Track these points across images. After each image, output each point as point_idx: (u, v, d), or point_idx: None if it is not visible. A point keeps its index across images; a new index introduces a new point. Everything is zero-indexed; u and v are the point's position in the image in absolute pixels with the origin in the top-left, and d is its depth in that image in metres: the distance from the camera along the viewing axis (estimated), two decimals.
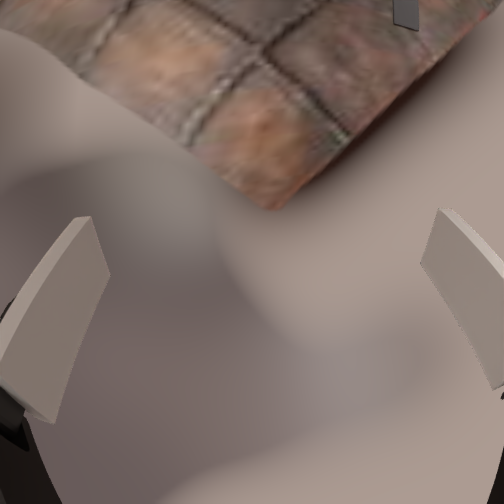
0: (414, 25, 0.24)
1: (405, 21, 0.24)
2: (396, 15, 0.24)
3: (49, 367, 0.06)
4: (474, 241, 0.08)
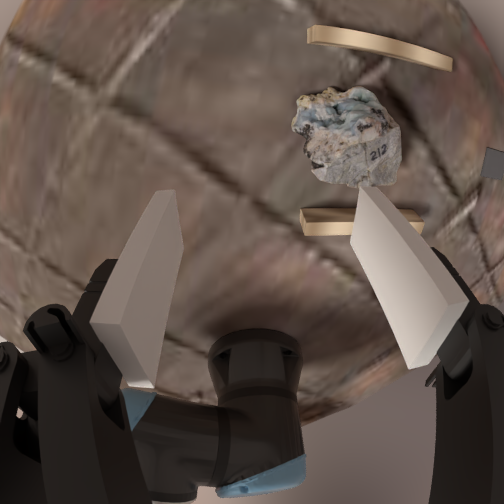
0: (503, 157, 0.26)
1: (501, 167, 0.27)
2: (496, 175, 0.28)
3: (152, 327, 0.07)
4: (387, 214, 0.09)
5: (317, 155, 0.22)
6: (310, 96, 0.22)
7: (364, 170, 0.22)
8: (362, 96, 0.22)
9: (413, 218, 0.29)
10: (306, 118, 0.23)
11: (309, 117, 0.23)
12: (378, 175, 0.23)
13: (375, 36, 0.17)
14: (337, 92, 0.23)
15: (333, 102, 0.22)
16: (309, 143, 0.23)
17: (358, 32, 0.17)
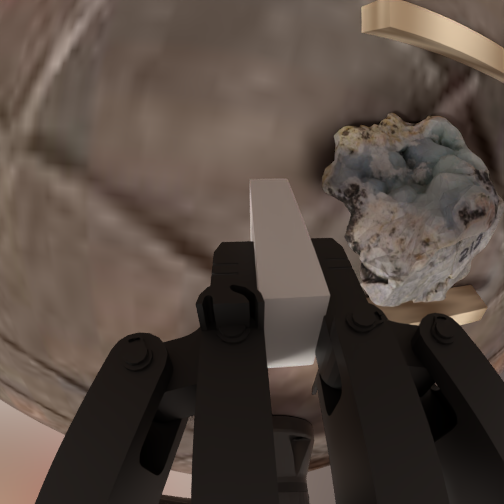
0: None
1: None
2: None
3: None
4: (279, 204, 0.09)
5: (374, 254, 0.12)
6: (362, 129, 0.12)
7: (443, 277, 0.12)
8: (443, 135, 0.12)
9: (475, 303, 0.18)
10: (353, 172, 0.13)
11: (358, 170, 0.12)
12: (457, 277, 0.12)
13: (479, 36, 0.07)
14: (404, 124, 0.12)
15: (400, 143, 0.12)
16: (358, 225, 0.12)
17: (456, 24, 0.07)
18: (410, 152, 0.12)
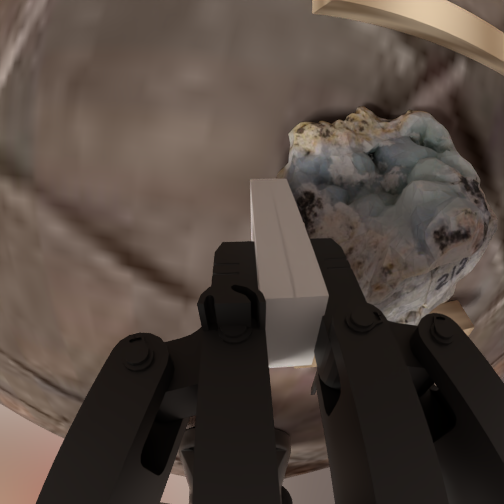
0: None
1: None
2: None
3: None
4: (278, 204, 0.09)
5: None
6: (320, 126, 0.10)
7: (415, 307, 0.10)
8: (426, 134, 0.10)
9: (460, 322, 0.17)
10: (307, 177, 0.11)
11: (314, 175, 0.11)
12: (435, 304, 0.11)
13: (459, 10, 0.05)
14: (377, 119, 0.10)
15: (369, 143, 0.10)
16: None
17: None
18: (382, 153, 0.10)
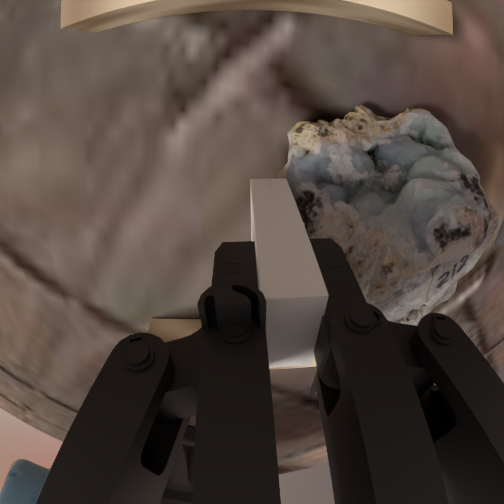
0: None
1: None
2: None
3: None
4: (278, 204, 0.09)
5: None
6: (319, 125, 0.10)
7: (417, 305, 0.10)
8: (425, 132, 0.10)
9: None
10: (307, 177, 0.11)
11: (314, 175, 0.11)
12: (436, 302, 0.11)
13: None
14: (376, 118, 0.10)
15: (368, 141, 0.10)
16: None
17: None
18: (381, 152, 0.10)
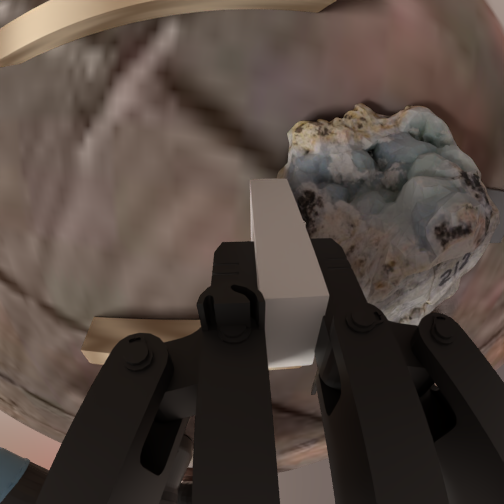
0: None
1: (503, 221, 0.14)
2: None
3: None
4: (279, 204, 0.09)
5: None
6: (318, 124, 0.10)
7: (419, 303, 0.10)
8: (425, 129, 0.10)
9: None
10: (307, 176, 0.11)
11: (314, 174, 0.11)
12: (439, 300, 0.11)
13: None
14: (376, 116, 0.10)
15: (368, 139, 0.10)
16: None
17: (40, 8, 0.05)
18: (381, 150, 0.10)
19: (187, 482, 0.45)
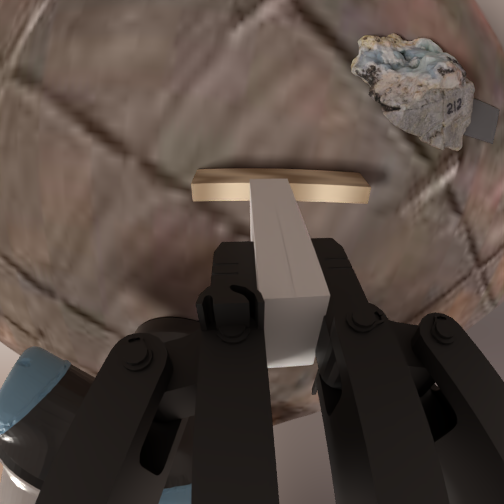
0: (493, 113, 0.19)
1: (491, 126, 0.19)
2: (484, 136, 0.20)
3: None
4: (279, 204, 0.09)
5: (389, 97, 0.15)
6: (375, 37, 0.15)
7: (438, 124, 0.15)
8: (429, 48, 0.15)
9: (354, 182, 0.22)
10: (371, 59, 0.16)
11: (374, 58, 0.16)
12: (450, 134, 0.16)
13: None
14: (402, 40, 0.16)
15: (399, 47, 0.15)
16: (377, 84, 0.16)
17: None
18: (407, 53, 0.15)
19: None
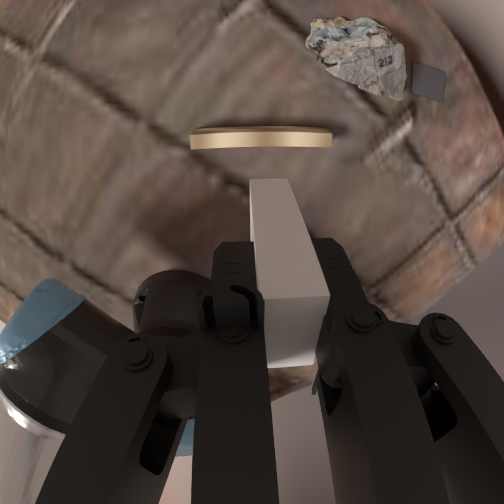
0: (440, 76, 0.24)
1: (439, 86, 0.25)
2: (434, 94, 0.26)
3: None
4: (279, 204, 0.09)
5: (330, 58, 0.20)
6: (323, 19, 0.21)
7: (373, 75, 0.21)
8: (368, 24, 0.21)
9: (319, 131, 0.27)
10: (319, 35, 0.21)
11: (322, 34, 0.21)
12: (386, 84, 0.21)
13: None
14: (346, 20, 0.21)
15: (343, 25, 0.21)
16: (323, 51, 0.21)
17: None
18: (348, 29, 0.21)
19: None
